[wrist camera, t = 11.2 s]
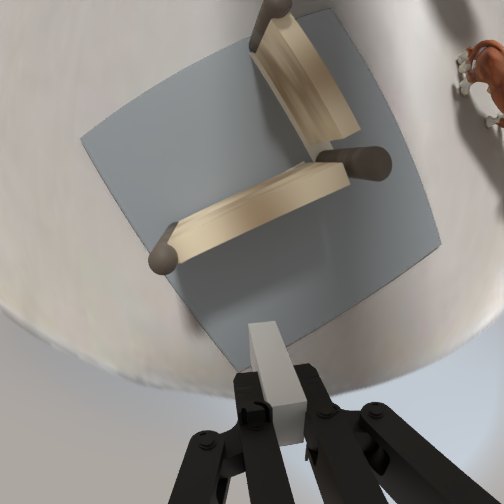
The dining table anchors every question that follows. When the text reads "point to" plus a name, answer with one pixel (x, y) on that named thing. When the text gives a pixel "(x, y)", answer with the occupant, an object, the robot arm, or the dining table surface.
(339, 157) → the fence fixed
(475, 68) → the bull figurine
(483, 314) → the dining table surface
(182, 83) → the card
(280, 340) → the robot arm
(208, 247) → the fence hinged
